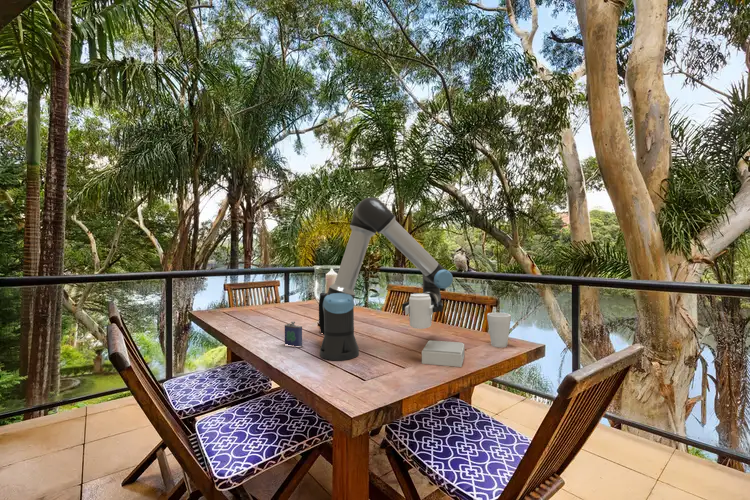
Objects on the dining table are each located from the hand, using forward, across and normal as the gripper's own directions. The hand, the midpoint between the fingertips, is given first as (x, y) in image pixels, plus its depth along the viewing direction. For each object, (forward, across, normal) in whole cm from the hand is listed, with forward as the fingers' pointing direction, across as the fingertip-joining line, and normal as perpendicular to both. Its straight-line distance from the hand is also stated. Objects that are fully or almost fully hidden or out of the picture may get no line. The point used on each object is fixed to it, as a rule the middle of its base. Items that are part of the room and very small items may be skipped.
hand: (418, 311), depth 134 cm
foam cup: (-31, -28, -19) cm, 47 cm away
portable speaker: (-33, +51, -19) cm, 63 cm away
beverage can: (-5, 0, -7) cm, 8 cm away
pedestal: (-7, -8, -19) cm, 22 cm away
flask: (-8, +56, -19) cm, 59 cm away
